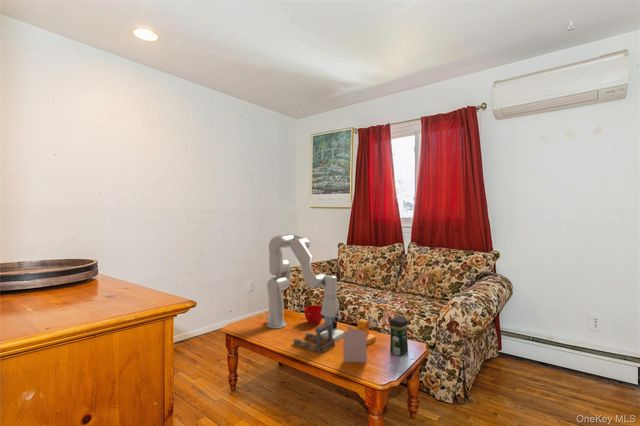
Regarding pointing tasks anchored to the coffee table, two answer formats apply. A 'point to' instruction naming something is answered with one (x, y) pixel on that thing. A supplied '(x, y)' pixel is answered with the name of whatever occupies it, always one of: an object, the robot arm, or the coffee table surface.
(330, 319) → the block
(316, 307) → the ceramic cup
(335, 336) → the plinth
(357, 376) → the coffee table surface
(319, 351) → the rack
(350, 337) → the greeting card
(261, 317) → the coffee table surface
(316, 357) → the coffee table surface
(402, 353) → the coffee jar
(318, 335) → the grey arch
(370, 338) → the bracket
